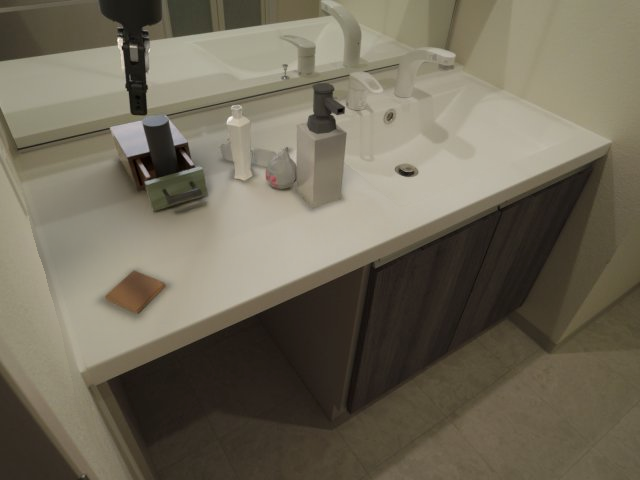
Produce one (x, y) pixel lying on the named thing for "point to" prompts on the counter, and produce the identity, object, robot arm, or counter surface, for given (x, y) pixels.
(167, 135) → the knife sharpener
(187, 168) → the drawer
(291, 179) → the figurine
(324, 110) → the soap dispenser
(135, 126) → the cabinet
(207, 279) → the counter surface
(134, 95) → the robot arm
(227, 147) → the eyeglasses
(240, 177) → the perfume bottle
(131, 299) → the coaster
